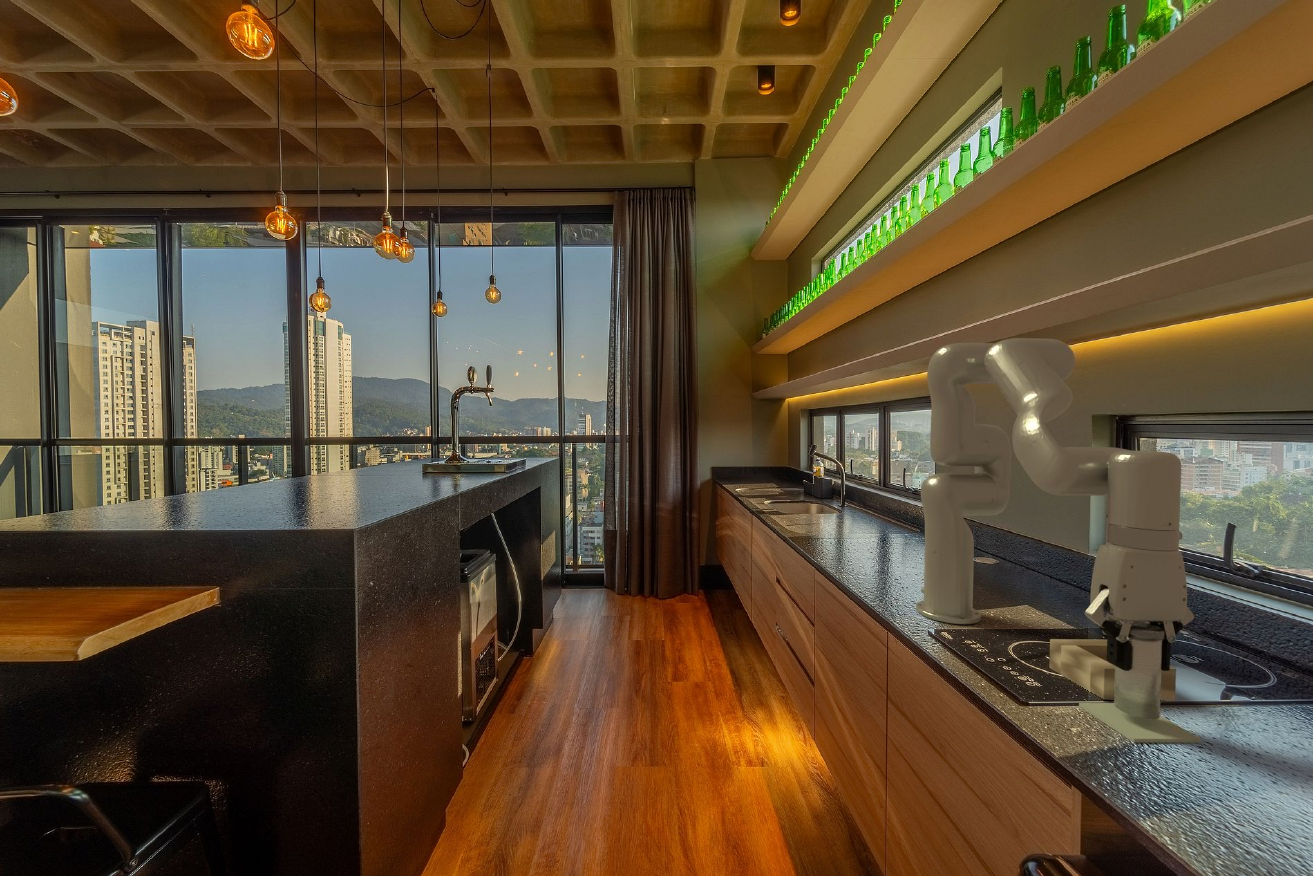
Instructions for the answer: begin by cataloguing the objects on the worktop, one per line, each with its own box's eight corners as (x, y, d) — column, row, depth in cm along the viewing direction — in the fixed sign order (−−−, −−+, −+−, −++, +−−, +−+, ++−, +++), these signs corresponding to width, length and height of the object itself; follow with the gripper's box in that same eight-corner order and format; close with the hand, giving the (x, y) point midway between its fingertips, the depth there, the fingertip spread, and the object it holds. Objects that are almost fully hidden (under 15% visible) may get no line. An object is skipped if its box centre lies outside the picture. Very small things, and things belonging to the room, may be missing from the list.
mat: (1078, 706, 78) (1079, 702, 78) (1138, 706, 78) (1138, 703, 78) (1133, 742, 69) (1133, 738, 69) (1201, 742, 69) (1201, 739, 69)
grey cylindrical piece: (1102, 700, 77) (1104, 619, 76) (1137, 700, 77) (1140, 619, 76) (1135, 720, 71) (1137, 633, 71) (1172, 720, 71) (1175, 633, 71)
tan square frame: (1049, 667, 91) (1050, 639, 91) (1112, 668, 91) (1113, 639, 91) (1103, 701, 80) (1104, 668, 80) (1175, 701, 80) (1176, 669, 80)
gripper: (1174, 533, 77) (1170, 655, 78) (1060, 532, 77) (1057, 654, 78) (1230, 545, 70) (1226, 679, 70) (1104, 544, 70) (1100, 679, 70)
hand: (1137, 665), depth 74 cm, fingers closed on grey cylindrical piece, 4 cm apart
